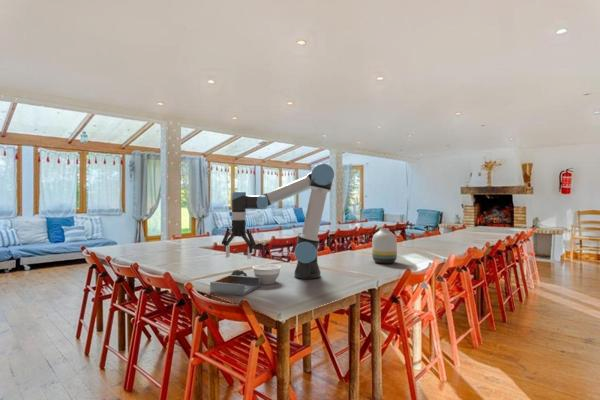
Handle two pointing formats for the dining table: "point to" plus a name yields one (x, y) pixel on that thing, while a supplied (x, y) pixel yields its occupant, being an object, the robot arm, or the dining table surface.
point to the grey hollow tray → (235, 285)
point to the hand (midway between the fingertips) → (238, 258)
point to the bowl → (267, 272)
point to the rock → (239, 273)
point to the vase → (384, 246)
